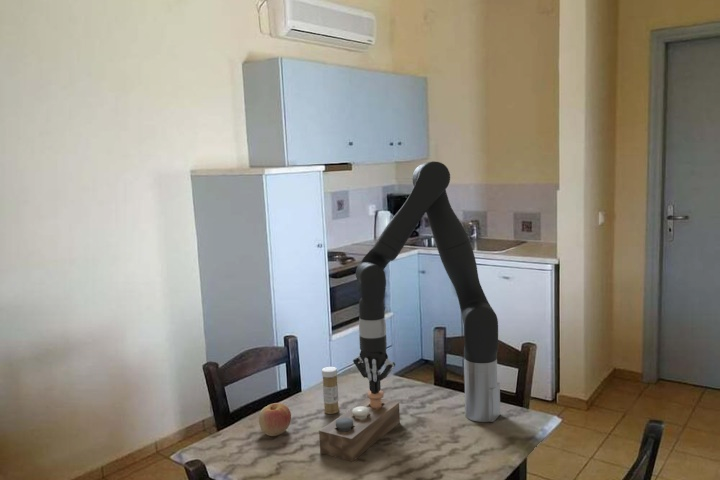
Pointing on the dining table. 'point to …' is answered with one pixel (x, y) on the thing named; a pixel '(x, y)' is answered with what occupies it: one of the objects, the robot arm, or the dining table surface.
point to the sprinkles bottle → (330, 390)
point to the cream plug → (360, 412)
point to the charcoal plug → (344, 424)
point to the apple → (274, 419)
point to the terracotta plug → (375, 399)
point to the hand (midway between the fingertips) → (375, 392)
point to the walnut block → (359, 430)
